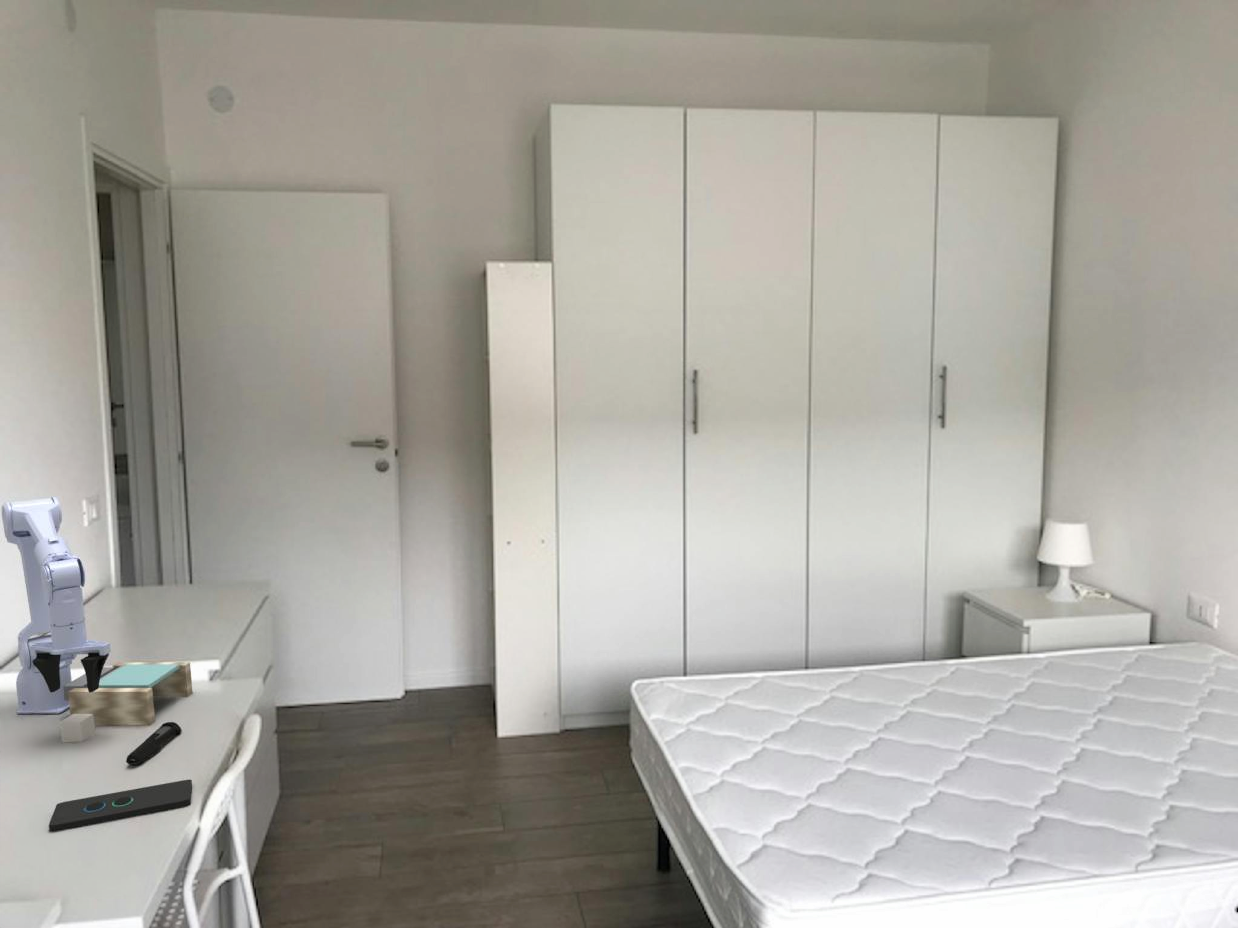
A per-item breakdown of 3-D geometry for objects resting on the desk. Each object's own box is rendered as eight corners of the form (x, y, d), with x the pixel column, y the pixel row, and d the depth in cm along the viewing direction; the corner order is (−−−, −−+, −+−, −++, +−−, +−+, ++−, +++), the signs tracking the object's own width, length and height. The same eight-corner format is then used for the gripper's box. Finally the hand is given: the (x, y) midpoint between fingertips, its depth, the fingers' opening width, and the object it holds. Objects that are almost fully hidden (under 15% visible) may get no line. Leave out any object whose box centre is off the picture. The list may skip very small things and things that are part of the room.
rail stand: (66, 725, 182) (63, 691, 182) (116, 693, 199) (113, 662, 198) (149, 725, 182) (146, 691, 181) (192, 692, 199) (190, 662, 198)
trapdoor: (63, 701, 184) (61, 684, 184) (98, 679, 196) (97, 664, 196) (149, 701, 184) (148, 684, 183) (180, 679, 196) (179, 663, 195)
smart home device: (57, 801, 149) (191, 777, 156) (58, 811, 149) (192, 786, 157) (47, 825, 141) (189, 798, 149) (48, 836, 141) (190, 808, 149)
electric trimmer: (120, 771, 163) (118, 754, 163) (164, 733, 178) (163, 718, 178) (141, 771, 163) (139, 754, 163) (183, 733, 178) (182, 717, 178)
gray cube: (61, 741, 175) (59, 722, 174) (75, 733, 179) (73, 713, 178) (82, 741, 175) (80, 722, 174) (95, 733, 179) (93, 713, 178)
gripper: (16, 628, 170) (23, 698, 172) (91, 628, 170) (98, 698, 171) (41, 617, 177) (48, 684, 179) (114, 616, 177) (120, 684, 178)
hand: (74, 690), depth 176 cm, fingers open, 7 cm apart
